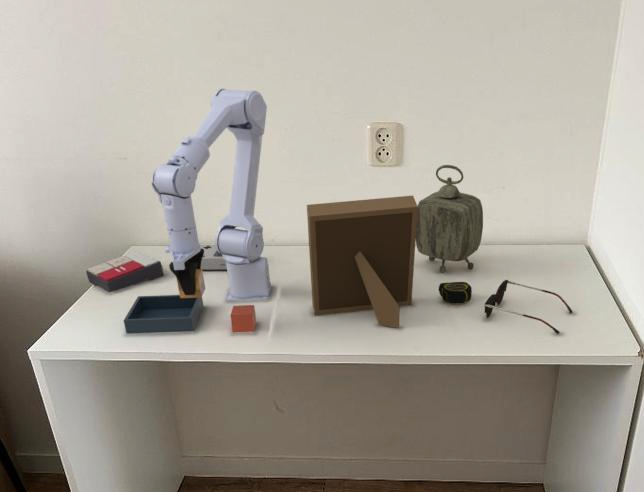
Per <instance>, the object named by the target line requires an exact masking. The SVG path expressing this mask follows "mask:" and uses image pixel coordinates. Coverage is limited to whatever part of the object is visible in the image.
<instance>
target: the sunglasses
mask: <svg viewBox="0 0 644 492" xmlns="http://www.w3.org/2000/svg"><path fill="white" fill-rule="evenodd" d="M508 284H510V285H516V286H520V287H523V288H526V289H531V290H535V291H539V292H543V293H546V294H550V295H553V296H556V297H557V298H559V299H560V300H561V302H562V303H563V305H565V307H566V308H567V310H568V312H569V314H572V313H574V312H573V310H572V307H570V306H569V304H568V303H567V302H566V301H565V300H564V298H563V297H561V295H559V294H558V293H556V292H553V291H549V290H545V289H541V288H538V287H534V286H529V285H525V284H521V283H517V282H514V281H512V280H511V281H510V280H508V279H504V280H503V281H502V282H501V283H500V285H499V286H498V287H497V290H496V292H495V293H493V294H490V296H489V297H488V298H487V299H486V301H485V302H484V314H485V319H489V318H490V317H491V316H492V313H493V311H494V310H499V311H504V312H506V313H510V314H513V315H516V316H517V315H518V316H522V317H525V318H528V319H532V320H536V321H538V322H541V323H543V324H544V325H546V326H548V327H549V328H550V329H552V330H553V331H554V333H556V334H557V335H559V334H560V331H559V330H558V329H557V328H555V327H554V326H553V325H551V324H550V323H548V322H547V321H545V320H544V319H542V318H539V317H535V316H532V315H528V314H525V313H524V314H523V313H519V312H516V311H512V310H509V309H504V308H501V307H499V306H500V305H501V304H502V302H503V300H504V297H505V292H507V289H508Z"/></svg>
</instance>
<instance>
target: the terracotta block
mask: <svg viewBox="0 0 644 492" xmlns="http://www.w3.org/2000/svg"><path fill="white" fill-rule="evenodd" d="M230 322H231V329H232V333H250V332H251V333H252V332H255V330H256V325H257V315H256V307H255V304H246V305H245V304H243V305H232V309H231V311H230Z"/></svg>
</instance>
